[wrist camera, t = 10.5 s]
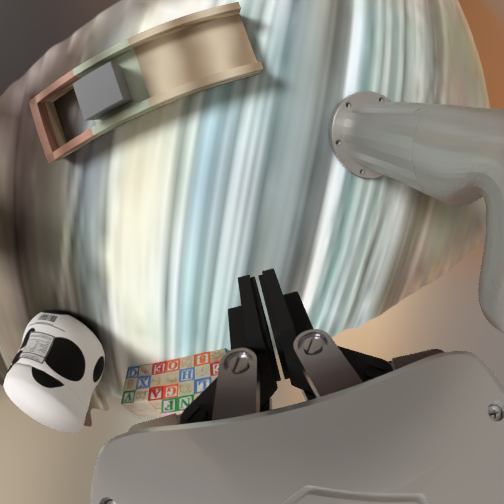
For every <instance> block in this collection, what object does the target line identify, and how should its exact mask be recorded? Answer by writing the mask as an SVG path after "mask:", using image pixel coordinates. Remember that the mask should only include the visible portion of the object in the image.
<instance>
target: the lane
mask: <svg viewBox="0 0 504 504" xmlns="http://www.w3.org/2000/svg"><path fill="white" fill-rule="evenodd" d="M240 9H241V7H240V5H239V2H236V3H231V4H226V5H222V6H218V7H214V8H210V9H207V10H203V11H200V12H196V13H193V14H190V15H187V16H183V17H180V18H178V19H175V20H172V21H169V22H166V23H164V24H161V25H159V26H156V27H154V28H151V29H149V30H146V31H144V32H142V33H139V34H137V35H135V36H133V37H131V38H128V39H126V40H124V41H122V42H120V43H118V44H116V45H114V46H112V47H110V48H109V49H107V50H105V51H103V52H101V53H99V54H98V55H96V56H94V57H92V58H91V59H89V60H87V61H86V62H84V63H82V64H81V65H79V66H78V67H76V68H75V69H73V70H71V71H70V72H68V73H67V74H65V75H64V76H63V77H61V78H60V79H58V80H57V81H55V82H54V83H53V84H51V85H50V86H49V87H47V88H46V89H45V90H43V91H42V92H41V93H39V94H38V95H37V96H36V97H34V98H33V99H32V100H31V101H30V102H29V104H30V108H31V111H32V115H33V118H34V122H35V125H36V128H37V131H38V134H39V138H40V141H41V143H42V146H43V149H44V152H45V155H46V158H47V160H48V163H52V162H55V161H57V160H60V159H63V158H65V157H66V156H68V155H69V154H71V153H72V152H74V151H76V150H77V149H79V148H81V147H82V146H84V145H86V144H87V143H89V142H91V141H92V140H94V139H96V138H98V137H100V136H101V135H103V134H105V133H107V132H109V131H111V130H113V129H114V128H116V127H118V126H120V125H122V124H124V123H126V122H128V121H130V120H132V119H135V118H137V117H139V116H141V115H143V114H145V113H148V112H150V111H152V110H154V109H157V108H159V107H161V106H164V105H166V104H169V103H171V102H174V101H176V100H179V99H181V98H184V97H187V96H189V95H192V94H195V93H198V92H200V91H203V90H206V89H209V88H212V87H216V86H219V85H222V84H225V83H229V82H232V81H235V80H239V79H243V78H246V77H250V76H254V75H258V74H259V73H260V72H261V71H262V70H263V66H262V63H261V61H260V62H257V60H256V57H255V55H254V52H253V49H252V46H251V44H250V41H249V38H248V35H247V33H246V30H245V27H244V25H243V22H242V20H241V17H240V15H239V13H240ZM110 61H111V62H113V63H115V64H117V65H119V66H121V67H122V69H123V72H124V75H125V78H126V81H127V84H128V87H129V90H130V93H131V96H132V98H133V101H132V102H130V103H128V104H126V105H124V106H122V107H120V108H118V109H116V110H115V111H113V112H111V113H109V114H107V115H105V116H104V117H102V118H100V119H98V120H95V122H96V125H95V126H94V127H92V128H90V129H88V130H87V131H85V132H83V133H82V134H80V135H78V136H77V137H75V138H74V139H72V140H71V141H69V142H67V141H66V138H65V136H64V133H63V130H62V127H61V124H60V121H59V118H58V114H57V111H56V108H55V105H54V101H55V100H57V99H58V98H60V97H61V96H63V95H64V94H65V93H67V92H68V91H70V90H71V89H73V88H74V87H73V83H75V82H76V81H78V80H79V79H81V78H82V77H84V76H86V75H87V74H89V73H91V72H92V71H94V70H96V69H97V68H99V67H101V66H103V65H104V64H106V63H108V62H110Z"/></svg>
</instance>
